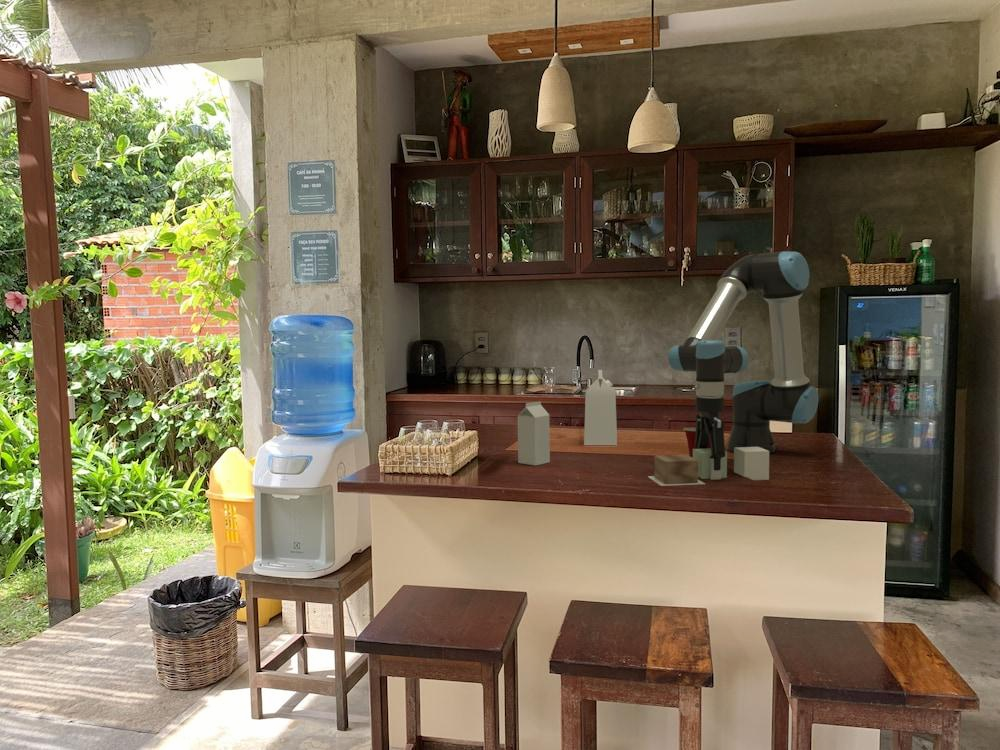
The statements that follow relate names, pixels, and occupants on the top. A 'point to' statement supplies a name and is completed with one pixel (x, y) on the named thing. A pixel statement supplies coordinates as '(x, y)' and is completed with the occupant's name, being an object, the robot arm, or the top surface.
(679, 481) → the walnut base brick
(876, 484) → the top surface
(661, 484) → the plate
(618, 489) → the top surface
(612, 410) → the milk
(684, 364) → the robot arm
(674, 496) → the top surface
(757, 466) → the cream brick
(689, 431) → the plastic cup
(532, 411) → the milk carton
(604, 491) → the top surface
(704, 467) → the sage brick
